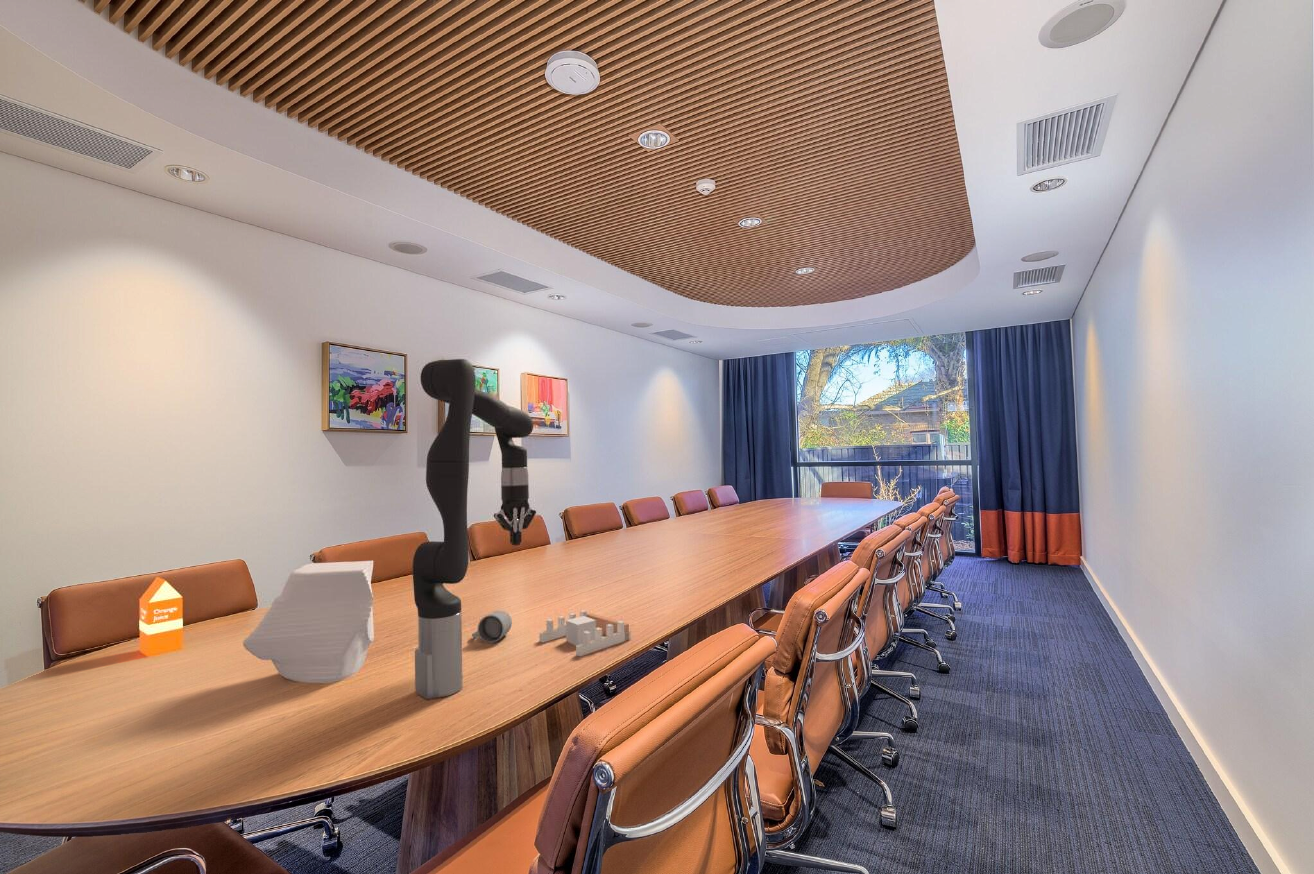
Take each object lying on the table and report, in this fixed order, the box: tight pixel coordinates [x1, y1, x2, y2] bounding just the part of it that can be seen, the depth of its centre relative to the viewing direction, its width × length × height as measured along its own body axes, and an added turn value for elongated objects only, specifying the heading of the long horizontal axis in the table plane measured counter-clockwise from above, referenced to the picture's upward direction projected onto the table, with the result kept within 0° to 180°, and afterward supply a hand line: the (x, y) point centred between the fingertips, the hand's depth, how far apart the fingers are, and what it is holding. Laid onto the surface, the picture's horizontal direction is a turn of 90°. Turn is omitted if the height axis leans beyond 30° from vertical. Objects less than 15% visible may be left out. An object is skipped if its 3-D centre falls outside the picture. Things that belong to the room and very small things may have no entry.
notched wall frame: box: [539, 609, 632, 657], centre depth 164 cm, size 18×18×5 cm
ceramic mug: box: [471, 610, 513, 644], centre depth 168 cm, size 11×8×8 cm
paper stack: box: [242, 560, 375, 684], centre depth 147 cm, size 21×27×26 cm
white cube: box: [565, 616, 596, 647], centre depth 163 cm, size 6×6×6 cm
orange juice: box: [138, 576, 184, 658], centre depth 164 cm, size 8×9×20 cm
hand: (515, 545), depth 165 cm, fingers closed
